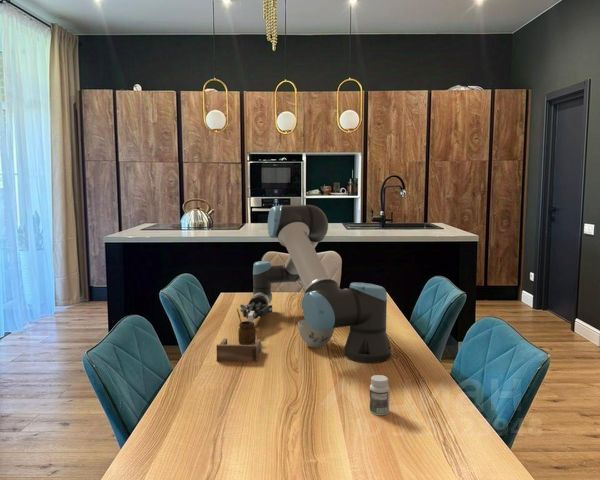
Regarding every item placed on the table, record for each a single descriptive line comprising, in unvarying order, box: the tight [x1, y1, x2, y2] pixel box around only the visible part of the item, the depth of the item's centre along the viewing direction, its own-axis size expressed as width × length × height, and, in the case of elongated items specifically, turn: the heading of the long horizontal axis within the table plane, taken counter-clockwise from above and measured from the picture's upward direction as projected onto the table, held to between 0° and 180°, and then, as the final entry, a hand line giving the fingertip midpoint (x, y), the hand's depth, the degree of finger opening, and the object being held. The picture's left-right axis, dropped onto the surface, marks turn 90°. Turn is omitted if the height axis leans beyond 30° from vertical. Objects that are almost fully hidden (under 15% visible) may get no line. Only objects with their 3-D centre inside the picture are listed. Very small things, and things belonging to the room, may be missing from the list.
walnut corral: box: [216, 338, 262, 363], centre depth 163 cm, size 11×12×5 cm
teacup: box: [297, 318, 335, 349], centre depth 175 cm, size 15×12×8 cm
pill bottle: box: [369, 374, 390, 416], centre depth 123 cm, size 5×5×8 cm
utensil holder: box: [236, 308, 257, 345], centre depth 177 cm, size 6×6×12 cm
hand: (249, 319), depth 184 cm, fingers closed
